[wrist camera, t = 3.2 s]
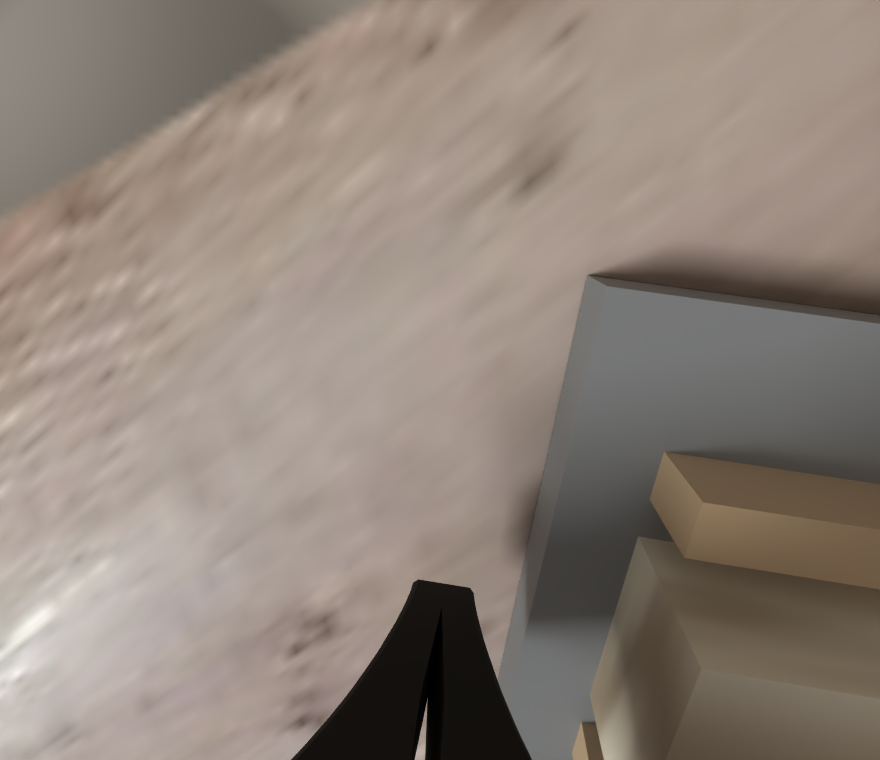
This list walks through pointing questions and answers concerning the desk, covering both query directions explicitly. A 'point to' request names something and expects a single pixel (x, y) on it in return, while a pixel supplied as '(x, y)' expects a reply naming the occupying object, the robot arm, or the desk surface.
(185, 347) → the desk surface
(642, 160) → the desk surface
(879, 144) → the desk surface
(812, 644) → the wooden block
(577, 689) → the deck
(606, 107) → the desk surface
